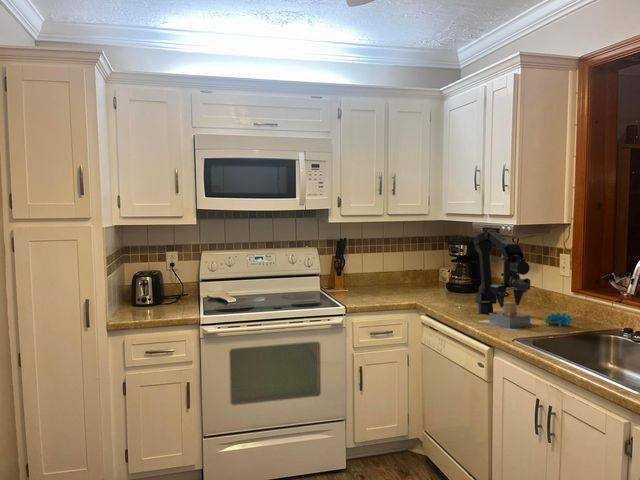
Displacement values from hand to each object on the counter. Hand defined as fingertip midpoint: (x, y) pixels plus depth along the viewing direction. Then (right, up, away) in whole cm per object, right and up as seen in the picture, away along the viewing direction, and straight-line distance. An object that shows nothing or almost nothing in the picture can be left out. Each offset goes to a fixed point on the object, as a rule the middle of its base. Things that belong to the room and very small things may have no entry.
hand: (509, 306), depth 213 cm
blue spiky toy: (+20, -9, -3) cm, 22 cm away
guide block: (0, -8, 0) cm, 8 cm away
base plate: (0, -9, +1) cm, 9 cm away
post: (0, -8, 0) cm, 8 cm away
